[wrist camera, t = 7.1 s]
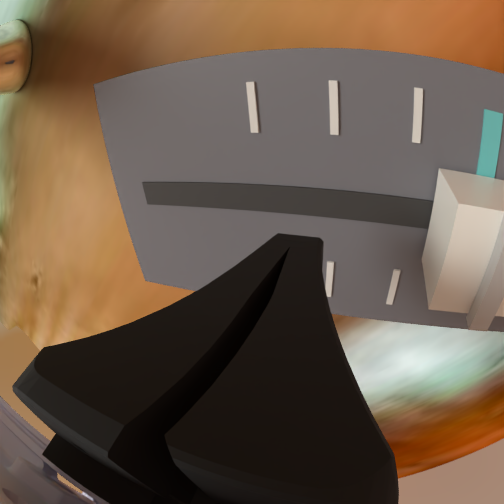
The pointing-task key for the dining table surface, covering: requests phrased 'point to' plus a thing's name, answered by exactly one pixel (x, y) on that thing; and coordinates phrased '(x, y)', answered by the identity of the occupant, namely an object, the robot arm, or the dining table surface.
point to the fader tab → (466, 248)
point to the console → (300, 164)
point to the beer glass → (14, 56)
